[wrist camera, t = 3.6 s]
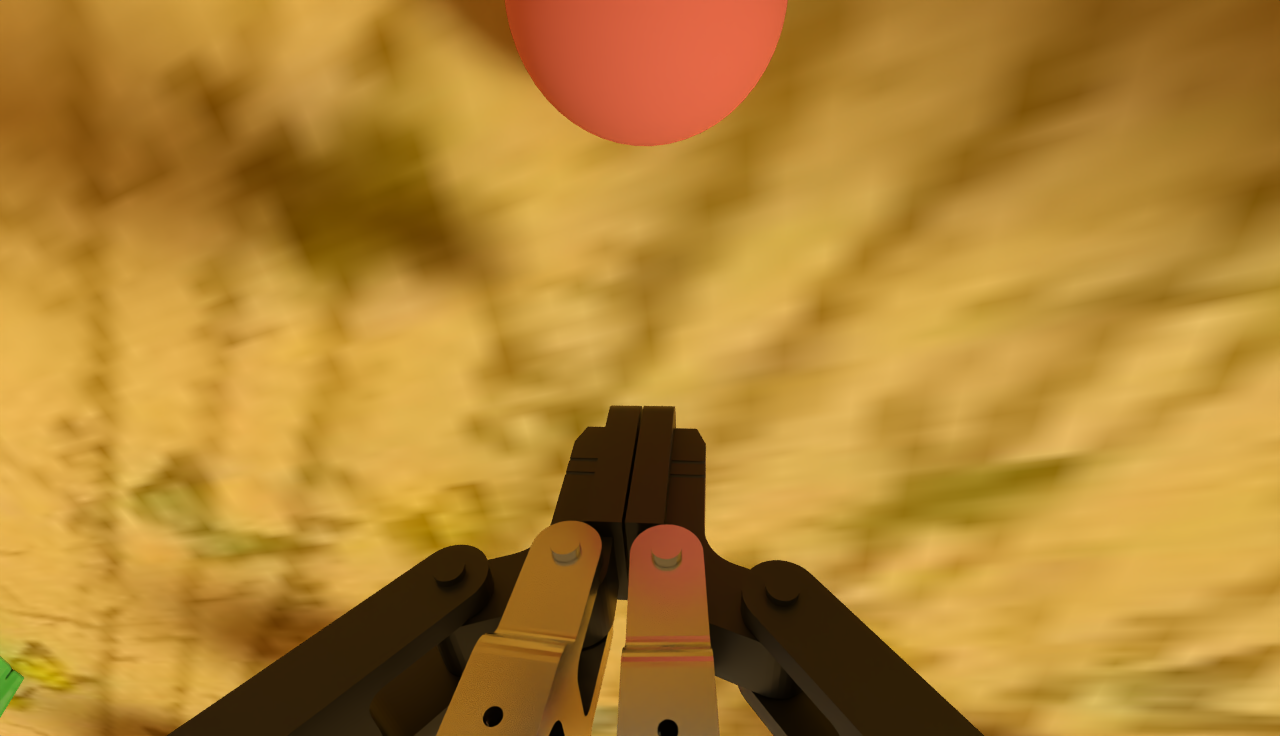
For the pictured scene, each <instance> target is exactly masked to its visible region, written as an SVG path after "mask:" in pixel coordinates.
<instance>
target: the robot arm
mask: <svg viewBox="0 0 1280 736" xmlns="http://www.w3.org/2000/svg"><path fill="white" fill-rule="evenodd" d="M705 481H706V444H705V442H704V440H703V439H702V437H701V435H700V434H699V432H698V430H697V429H680V428H676V415H675V407H673V406H644V407H643V408H642V406H611V407H610V409H609V413H608V418H607V422H606V426H605V427H587V428H586V430H585V431H584V432H583V433H582V434H581V435H580V436H579V437H578V438H577V440H576V441H575V443H574V446H573V450H572V453H571V457H570V461H569V464H568V467H567V471H566V475H565V477H564V481H563V484H562V488H561V491H560V495H559V498H558V502H557V505H556V509H555V512H554V515H553V519H552V522H551V525H550V526H549V527H547V528H545V529H544V530H543V531H541V532H540V533H539V534H538V535H537V537H536V538H535V539H534V541H533V543H532V545H531V547H530V548H528V549H526V550H524V551H521V552H519V553H515V554H512V555H508V556H503V557H499V558H495V559H490V560H487V558H486V556H485V555H484V553H483V552H482V551H480V550H479V549H477V548H475V547H473V546H469V545H454V546H449V547H446V548H443V549H441V550H439V551H437V552H435V553H433V554H432V555H430V556H429V557H427V558H426V559H425V560H423V561H422V562H420V563H419V564H417V565H416V566H414V567H413V568H411V569H410V570H408V571H407V572H405V573H404V574H403V575H401V576H400V577H398V578H397V579H395V580H394V581H392V582H391V583H389V584H388V585H386V586H385V587H384V588H382V589H381V590H379V591H378V592H376V593H375V594H373V595H372V596H370V597H369V598H367V599H366V600H365V601H363V602H362V603H360V604H359V605H357V606H356V607H354V608H353V609H351V610H350V611H348V612H347V613H346V614H344V615H343V616H341V617H340V618H338V619H337V620H335V621H334V622H332V623H331V624H329V625H328V626H327V627H325V628H324V629H322V630H321V631H319V632H318V633H316V634H315V635H313V636H312V637H310V638H309V639H308V640H306V641H305V642H303V643H302V644H300V645H299V646H297V647H296V648H294V649H293V650H291V651H290V652H289V653H287V654H286V655H284V656H283V657H281V658H280V659H278V660H277V661H275V662H274V663H272V664H271V665H269V666H268V667H267V668H265V669H264V670H262V671H261V672H259V673H258V674H256V675H255V676H253V677H252V678H250V679H249V680H248V681H246V682H245V683H243V684H242V685H240V686H239V687H237V688H236V689H234V690H233V691H231V692H230V693H229V694H227V695H226V696H224V697H223V698H221V699H220V700H218V701H217V702H215V703H214V704H212V705H211V706H210V707H208V708H207V709H205V710H204V711H202V712H201V713H199V714H198V715H196V716H195V717H193V718H192V719H191V720H189V721H188V722H186V723H185V724H183V725H182V726H180V727H179V728H177V729H176V730H174V731H173V732H172V733H170V734H169V735H167V736H591V732H592V725H593V720H594V715H595V711H596V707H597V702H598V698H599V694H600V689H601V685H602V681H603V677H604V672H605V668H606V664H607V659H608V655H609V651H610V646H611V642H612V638H613V621H614V616H615V610H616V603H617V599H618V600H628V605H627V625H626V643H625V647H623V650H622V656H621V670H620V688H619V706H618V724H617V736H720V735H719V722H718V709H717V697H716V684H715V676H717V677H720V678H722V679H724V680H727V681H729V682H731V683H734V684H736V685H738V687H739V689H740V692H741V694H742V695H743V697H744V698H745V700H746V701H747V702H748V703H749V705H750V706H751V707H752V709H753V710H754V711H755V712H756V714H757V715H758V716H759V717H760V719H761V720H762V721H763V723H764V724H765V725H766V726H767V728H768V729H769V730H770V731H771V733H772V734H773V735H774V736H984V735H983V734H982V733H981V732H980V731H979V730H978V729H976V728H975V727H974V726H973V725H972V724H971V723H970V722H969V721H968V720H967V719H966V718H965V717H964V716H963V715H961V714H960V713H959V712H958V711H957V710H956V709H955V708H954V707H953V706H952V705H951V704H950V703H949V702H948V701H946V700H945V699H944V698H943V697H942V696H941V695H940V694H939V693H938V692H937V691H936V690H935V689H934V688H933V687H931V686H930V685H929V684H928V683H927V682H926V681H925V680H924V679H923V678H922V677H921V676H920V675H919V674H918V673H917V672H915V671H914V670H913V669H912V668H911V667H910V666H909V665H908V664H907V663H906V662H905V661H904V660H903V659H902V658H900V657H899V656H898V655H897V654H896V653H895V652H894V651H893V650H892V649H891V648H890V647H889V646H888V645H887V644H885V643H884V642H883V641H882V640H881V639H880V638H879V637H878V636H877V635H876V634H875V633H874V632H873V631H872V630H870V629H869V628H868V627H867V626H866V625H865V624H864V623H863V622H862V621H861V620H860V619H859V618H858V617H857V616H855V615H854V614H853V613H852V612H851V611H850V610H849V609H848V608H847V607H846V606H845V605H844V604H843V603H842V602H840V601H839V600H838V599H837V598H836V597H835V596H834V595H833V594H832V593H831V592H830V591H829V590H828V589H827V588H825V587H824V586H823V585H822V584H821V583H820V582H819V581H818V580H817V579H816V578H815V577H814V576H813V575H812V574H810V573H809V572H808V571H807V570H806V569H804V568H802V567H801V566H799V565H796V564H794V563H791V562H787V561H781V560H772V561H766V562H763V563H760V564H758V565H756V566H754V567H753V568H752V569H751V570H750V569H747V568H744V567H741V566H738V565H735V564H733V563H730V562H728V561H726V560H725V559H723V558H721V557H720V556H719V555H717V554H716V553H715V552H714V551H713V550H712V548H711V547H710V546H709V544H708V542H707V540H706V537H705Z"/></svg>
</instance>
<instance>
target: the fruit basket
mask: <svg viewBox="0 0 1280 736" xmlns="http://www.w3.org/2000/svg"><path fill="white" fill-rule="evenodd" d="M23 679H24V677H23V676H22V675H21V674H19V673H18V672H16V671H15V670H12V668H11V666H10V665H9V664H8V663H7V662H6V661H5V660H4V659H3V658H2V657H0V717H1V715H2V714H3V712H4V711H5V709H6V707H7V706H8V704H9V702H10V701H11V699H12V698H13V696H14V694H15V693H16V691H17V689H18V687H19V686H20V684H21V682H22V681H23Z"/></svg>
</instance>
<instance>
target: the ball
mask: <svg viewBox="0 0 1280 736" xmlns="http://www.w3.org/2000/svg"><path fill="white" fill-rule="evenodd" d="M505 5H506V13H507V17H508V21H509V26H510V30H511V34H512V37H513V39H514V42H515V45H516V48H517V51H518V53H519V55H520V57H521V60H522V62H523V64H524V66H525V68H526V70H527V71H528V73H529V75H530V76H531V78H532V80H533V81H534V83H535V85H536V86H537V87H538V88H539V90H540V91H541V92H542V94H543V95H544V96H545V97H546V99H547V100H548V101H549V102H550V103H551V104H552V105H553V106H554V107H555V108H556V109H557V110H558V111H559V112H560V113H561V114H563V115H564V116H565V117H566V118H568V119H569V120H570V121H571V122H573V123H574V124H576V125H578V126H579V127H581V128H582V129H584V130H586V131H587V132H589V133H592V134H594V135H596V136H598V137H601V138H603V139H606V140H610V141H613V142H616V143H621V144H627V145H634V146H655V145H663V144H669V143H673V142H677V141H681V140H685V139H687V138H690V137H692V136H694V135H697V134H699V133H702V132H703V131H705V130H707V129H709V128H710V127H712V126H714V125H716V124H717V123H718V122H720V121H721V120H722V119H724V118H725V117H726V116H728V115H729V114H730V113H731V112H732V111H733V110H734V109H735V108H736V107H737V106H738V105H739V104H740V103H742V102H743V101H744V99H745V98H746V97H747V96H748V94H749V93H750V92H751V91H752V89H753V88H754V87H755V86H756V84H757V83H758V81H759V79H760V78H761V76H762V75H763V73H764V71H765V70H766V68H767V66H768V64H769V62H770V60H771V57H772V55H773V53H774V51H775V49H776V46H777V43H778V40H779V37H780V34H781V31H782V27H783V23H784V18H785V14H786V9H787V0H505Z"/></svg>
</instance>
